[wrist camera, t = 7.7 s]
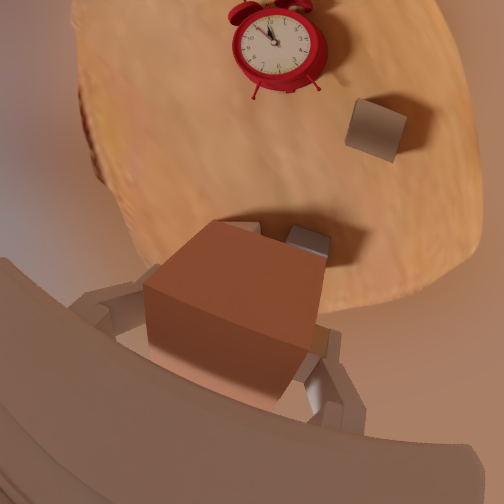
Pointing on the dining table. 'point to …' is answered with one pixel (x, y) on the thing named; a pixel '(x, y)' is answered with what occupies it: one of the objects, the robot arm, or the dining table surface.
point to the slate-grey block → (309, 241)
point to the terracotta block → (234, 312)
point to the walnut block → (375, 130)
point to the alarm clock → (277, 45)
